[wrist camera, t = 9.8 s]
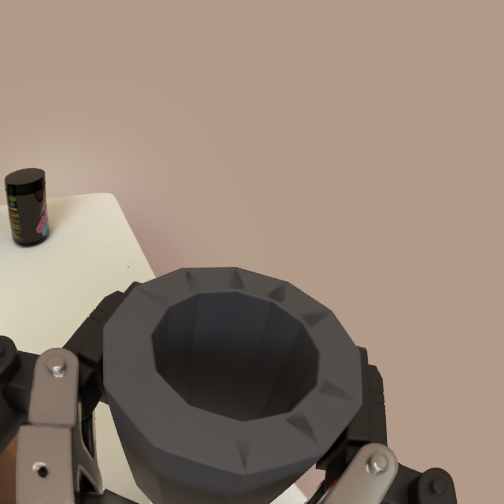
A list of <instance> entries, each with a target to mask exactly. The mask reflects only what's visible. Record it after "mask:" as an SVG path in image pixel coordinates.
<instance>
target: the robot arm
mask: <svg viewBox="0 0 504 504" xmlns="http://www.w3.org/2000/svg"><path fill="white" fill-rule="evenodd" d="M140 284H142V283H139V282H136V281H135V282H133V283H132V284H131V285H130V286H129V287H128V289H127V290H126V291H125V292H124V293H123V292H120V291H116V292H114V293H112V294H110V295H108V296H106V297H105V298H104V299H103V300H102V301H101V302H100V304H99V305H98V306H97V307H96V309H94V310H93V312H92V313H91V314H90V316H89V317H88V318H87V319H86V320H85V321H84V322H83V323H82V325H81V326H80V327H79V328H78V329H77V331H76V332H75V333H74V334H73V335H72V337H71V338H70V339H69V340H68V342H67V343H66V344H65V345H64V346H63V347H62V348H53V349H49V350H47V351H45V352H44V353H42V354H41V355H37V354H32V353H27V352H22V351H18V350H17V348H16V346H15V344H14V342H13V341H12V340H11V339H10V338H8V337H6V336H0V455H1V454H2V452H3V451H4V450H5V449H6V447H7V446H8V445H9V444H10V442H11V441H12V440H13V439H14V437H15V436H16V435H17V434H18V441H17V458H16V504H139V503H136V502H134V501H132V500H129V499H127V498H125V497H122V496H120V495H118V494H116V493H114V492H111V491H109V490H107V489H105V490H104V492H103V486H102V479H101V474H100V470H99V467H98V462H97V451H96V432H95V410H94V409H95V407H96V406H97V404H98V402H99V401H101V402H103V403H105V404H108V405H109V403H108V400H107V396H106V392H105V389H104V384H103V327H104V325H105V323H106V322H107V321H108V320H109V318H110V317H111V316H112V315H113V313H114V312H115V311H116V310H117V308H118V307H119V306H120V305H121V303H122V302H123V301H124V300H125V298H126V297H127V296H128V295H129V294H130V292H131V291H132V290H133V289H134V287H135V286H138V285H140ZM356 347H357V348H358V350H359V351H360V355H361V374H362V402H363V403H362V406H361V408H360V409H359V410H358V412H357V413H356V414H355V416H354V417H353V419H352V420H351V421H350V423H349V424H348V425H347V427H346V428H345V429H344V431H343V432H342V433H341V434H340V436H339V437H338V438H337V440H336V441H335V442H334V443H333V445H332V446H331V447H330V448H329V450H328V451H327V452H326V453H325V454H324V455H323V456H322V457H321V458H320V459H319V460H318V461H317V462H316V469H321V470H326V474H325V479H324V480H323V481H322V482H321V483H320V485H319V486H318V487H317V488H316V490H315V491H314V492H313V494H312V495H311V496H310V497H309V498H308V499H307V501H306V502H305V503H304V504H457V499H456V493H455V488H454V483H453V480H452V478H451V476H450V475H449V473H447V472H446V471H445V470H443V469H441V468H431V469H428V470H427V471H425V472H424V473H421V472H418V471H415V470H413V469H410V468H408V467H405V466H403V465H401V464H400V463H398V461H397V458H396V456H395V454H394V453H393V451H392V450H391V449H390V448H388V446H387V432H386V415H385V405H384V395H383V392H384V391H383V379H382V377H381V375H380V373H379V371H378V369H377V367H376V366H374V365H369V364H368V357H367V350H366V348H363V347H358V346H356Z"/></svg>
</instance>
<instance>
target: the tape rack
mask: <svg viewBox="0 0 504 504" xmlns="http://www.w3.org/2000/svg"><path fill="white" fill-rule="evenodd" d="M17 441H18V434H17V435H16V436H15V437H14V439H13V440H12V441H11V442H10V444H9V445H8V446H7V447H6V449H5V450H4V451H3V452H2V454H1V455H0V504H16V458H17Z"/></svg>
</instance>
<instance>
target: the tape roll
mask: <svg viewBox="0 0 504 504" xmlns="http://www.w3.org/2000/svg"><path fill="white" fill-rule="evenodd" d="M103 384H104V389H105V392H106V396H107V400H108V403H109V407H110V410H111V414H112V417H113V420H114V423H115V427H116V430H117V433H118V436H119V439H120V442H121V445H122V448H123V450H124V453H125V456H126V459H127V461H128V464H129V467H130V469H131V472H132V474H133V477H134V480H135V482H136V484H137V486H138V487H139V488H140V489H141V491H142V492H143V493H144V494H145V495H146V496H147V497H148V498H149V499H150V500H151V501H152V503H153V504H270V503H271V502H272V501H273V500H275V499H276V498H277V497H278V496H279V495H281V494H282V493H283V492H284V491H285V490H286V489H288V488H289V487H290V486H291V485H292V484H293V483H294V482H296V481H297V480H298V479H299V478H300V477H301V476H302V475H303V474H304V473H305V472H306V471H308V469H309V468H311V467H312V466H313V465H314V464H315V463H316V462H317V461H318V460H319V459H320V458H321V457H322V456H323V455H324V454H325V453H326V452H327V451H328V450H329V448H330V447H331V446H332V445H333V443H334V442H335V441H336V440H337V438H338V437H339V436H340V434H341V433H342V432H343V431H344V429H345V428H346V427H347V425H348V424H349V423H350V421H351V420H352V419H353V417H354V416H355V414H356V413H357V412H358V410H359V409H360V408H361V406H362V403H363V402H362V374H361V355H360V351H359V350H358V348H357V347H356V345H355V344H354V342H353V341H352V340H351V338H350V337H349V335H348V334H347V332H346V331H345V329H344V328H343V326H342V325H341V323H340V322H339V321H338V319H337V318H336V316H335V315H334V313H333V312H332V311H331V310H330V309H328V308H327V307H325V306H324V305H322V304H321V303H319V302H318V301H316V300H315V299H313V298H312V297H310V296H309V295H307V294H306V293H304V292H302V291H301V290H300V289H298V288H297V287H295V286H293V285H292V284H290V283H289V282H286V281H282V280H279V279H276V278H272V277H268V276H265V275H262V274H258V273H255V272H251V271H248V270H244V269H241V268H238V267H222V268H221V267H220V268H219V267H217V268H181V269H179V270H176V271H173V272H171V273H168V274H165V275H163V276H160V277H158V278H155V279H153V280H150V281H148V282H145V283H143V284H140V285H138V286H135V287H134V289H133V290H132V291H131V292H130V294H129V295H128V296H127V297H126V298H125V300H124V301H123V302H122V303H121V305H120V306H119V307H118V308H117V310H116V311H115V312H114V313H113V315H112V316H111V317H110V318H109V320H108V321H107V322H106V323H105V325H104V327H103Z"/></svg>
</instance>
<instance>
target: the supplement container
mask: <svg viewBox="0 0 504 504" xmlns="http://www.w3.org/2000/svg"><path fill="white" fill-rule="evenodd" d="M45 183H46V182H45V172H44V171H43V170H41V169H37V168H28V169H22V170H18V171H15V172H12V173H10V174H9V175H7V176H6V177H5V190H6V197H7V205H8V213H9V220H10V226H11V232H12V238H13V240H14V242H15V243H16V244H18V245H20V246H25V247H28V246H34V245H37V244H39V243H41V242H43V241H44V240H45V239H46V238H47V236H48V234H49V225H48V215H47V204H46V189H45Z"/></svg>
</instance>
